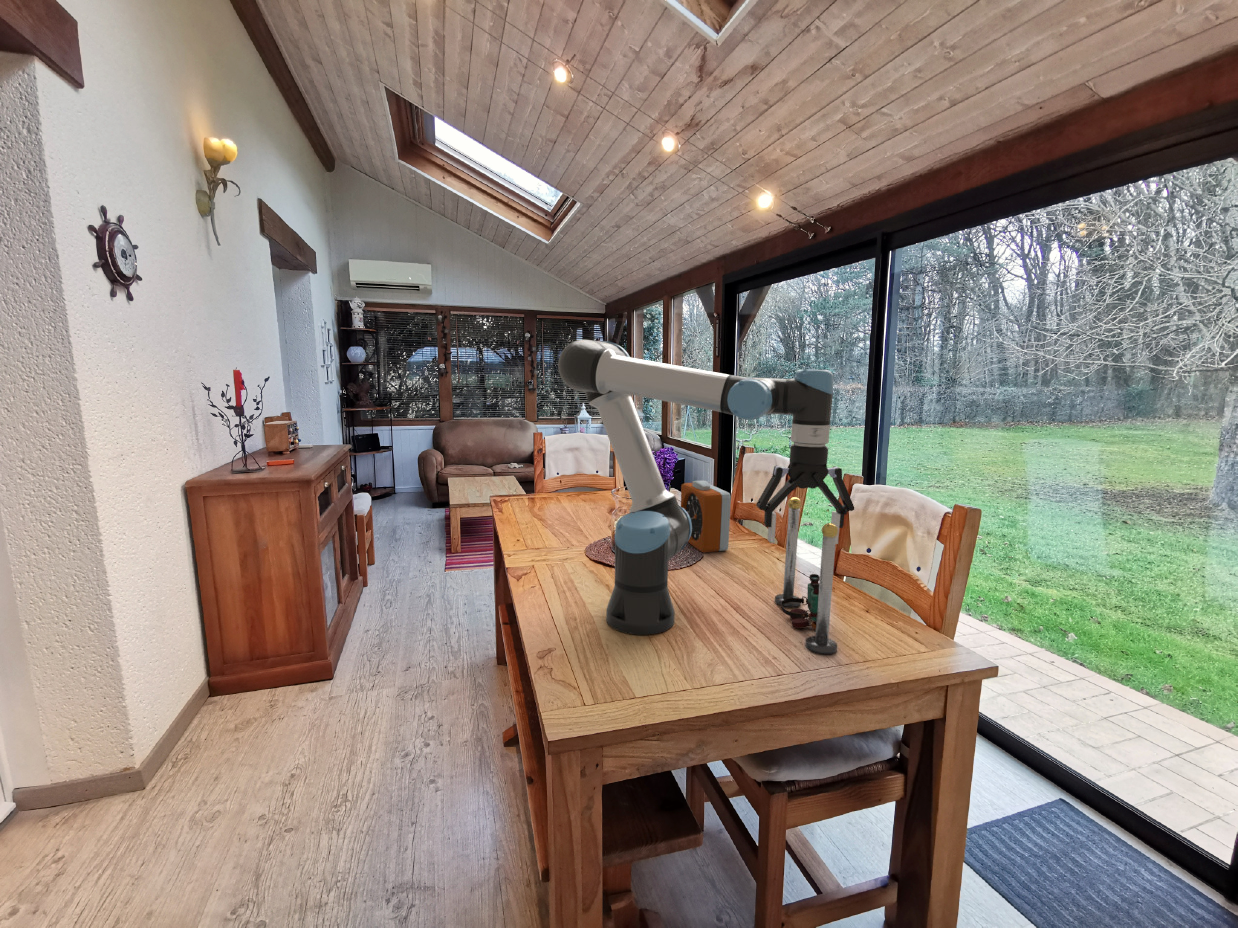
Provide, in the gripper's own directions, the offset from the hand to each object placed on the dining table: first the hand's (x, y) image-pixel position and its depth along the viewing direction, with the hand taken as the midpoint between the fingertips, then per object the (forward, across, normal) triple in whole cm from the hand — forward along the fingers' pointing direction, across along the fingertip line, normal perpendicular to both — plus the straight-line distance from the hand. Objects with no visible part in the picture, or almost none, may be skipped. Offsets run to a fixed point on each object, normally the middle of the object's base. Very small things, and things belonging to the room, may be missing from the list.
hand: (802, 541), depth 122 cm
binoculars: (+19, +1, 0) cm, 19 cm away
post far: (+19, +1, +11) cm, 22 cm away
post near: (+19, +1, -11) cm, 22 cm away
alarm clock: (+19, -12, +56) cm, 61 cm away
